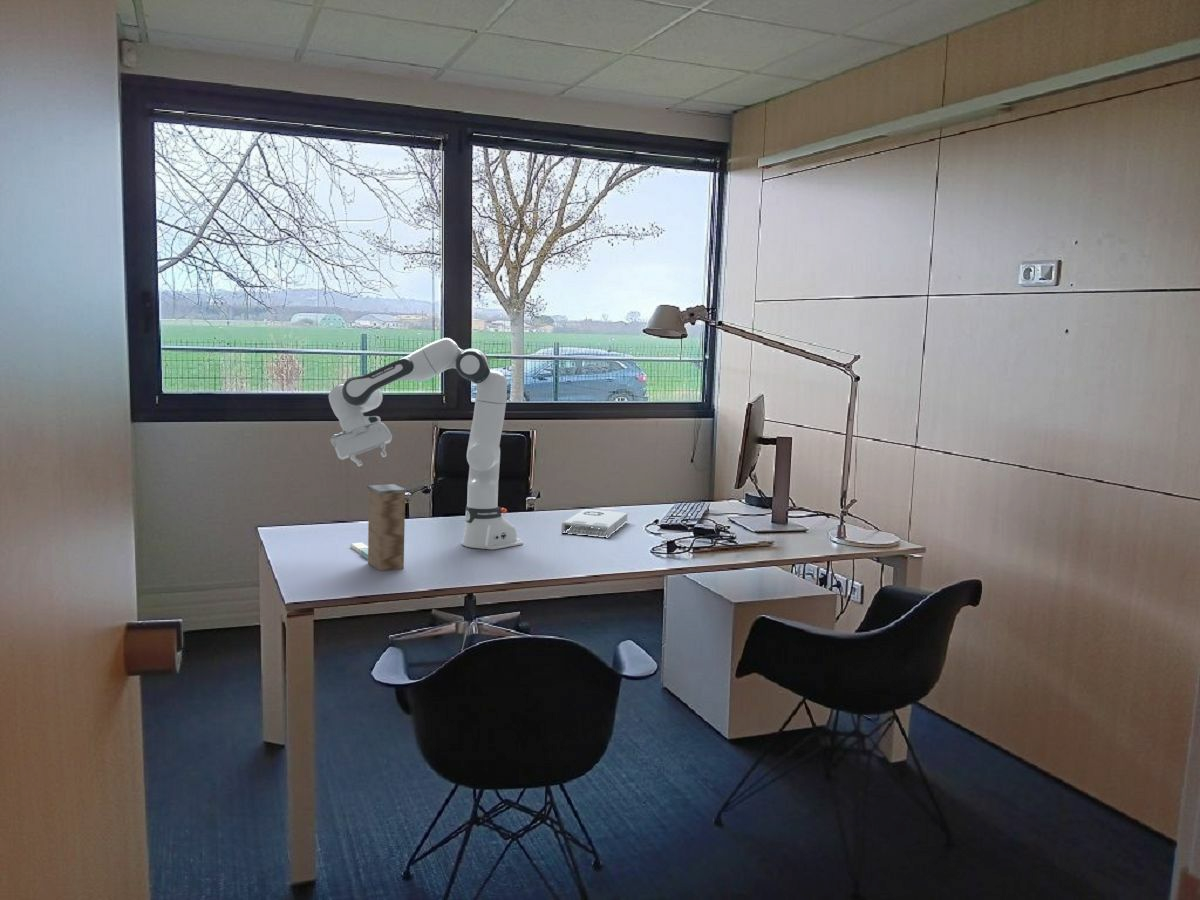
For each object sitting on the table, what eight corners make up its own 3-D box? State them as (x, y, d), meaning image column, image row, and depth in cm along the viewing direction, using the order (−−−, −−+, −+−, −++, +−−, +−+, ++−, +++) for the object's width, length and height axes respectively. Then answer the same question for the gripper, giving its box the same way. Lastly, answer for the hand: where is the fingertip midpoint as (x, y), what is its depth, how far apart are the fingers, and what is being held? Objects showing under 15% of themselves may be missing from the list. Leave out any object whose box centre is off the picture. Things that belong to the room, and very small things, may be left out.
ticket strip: (363, 546, 314) (363, 540, 314) (383, 559, 298) (383, 553, 297) (349, 547, 311) (349, 542, 311) (368, 560, 295) (368, 554, 295)
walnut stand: (392, 560, 296) (393, 484, 293) (405, 568, 287) (406, 489, 284) (366, 563, 291) (367, 485, 288) (378, 571, 282) (379, 491, 279)
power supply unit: (561, 535, 348) (561, 523, 347) (584, 520, 379) (584, 508, 379) (607, 540, 343) (607, 527, 342) (627, 524, 374) (627, 512, 374)
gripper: (329, 433, 306) (346, 467, 304) (383, 414, 317) (400, 447, 315) (326, 440, 311) (344, 474, 309) (379, 422, 322) (396, 454, 320)
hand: (372, 460), depth 312 cm, fingers open, 8 cm apart
